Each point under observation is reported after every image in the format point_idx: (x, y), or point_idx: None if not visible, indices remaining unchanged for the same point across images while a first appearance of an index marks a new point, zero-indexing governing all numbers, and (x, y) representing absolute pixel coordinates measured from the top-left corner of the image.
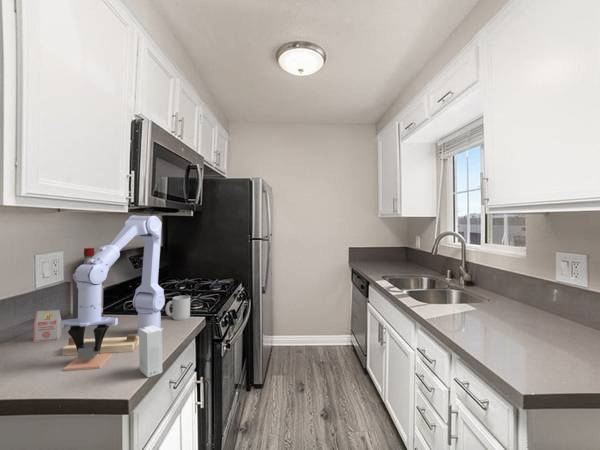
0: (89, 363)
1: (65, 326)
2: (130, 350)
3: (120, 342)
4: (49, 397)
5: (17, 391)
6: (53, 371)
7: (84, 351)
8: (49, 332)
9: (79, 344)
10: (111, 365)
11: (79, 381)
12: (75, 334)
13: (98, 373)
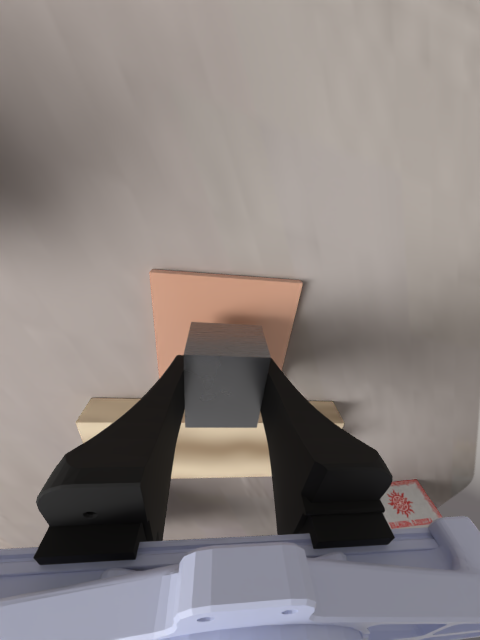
0: (210, 312)
1: (430, 537)
2: (98, 401)
3: None
4: None
5: (458, 85)
6: (336, 284)
7: (233, 344)
8: (396, 511)
9: (271, 387)
10: (110, 289)
11: (186, 123)
12: (315, 440)
13: (128, 209)
